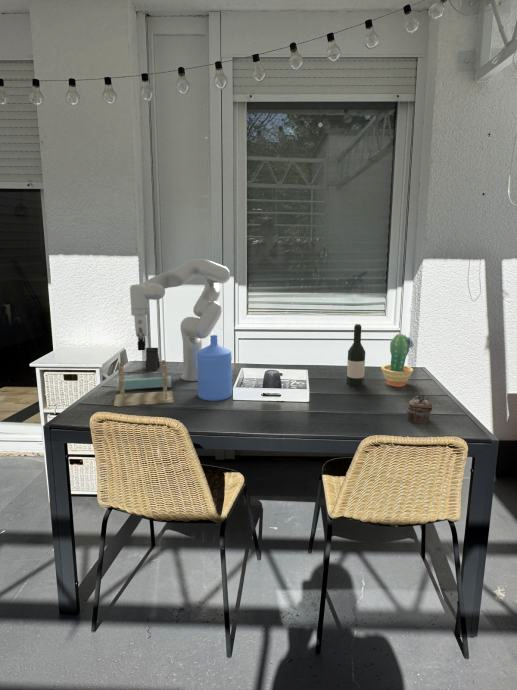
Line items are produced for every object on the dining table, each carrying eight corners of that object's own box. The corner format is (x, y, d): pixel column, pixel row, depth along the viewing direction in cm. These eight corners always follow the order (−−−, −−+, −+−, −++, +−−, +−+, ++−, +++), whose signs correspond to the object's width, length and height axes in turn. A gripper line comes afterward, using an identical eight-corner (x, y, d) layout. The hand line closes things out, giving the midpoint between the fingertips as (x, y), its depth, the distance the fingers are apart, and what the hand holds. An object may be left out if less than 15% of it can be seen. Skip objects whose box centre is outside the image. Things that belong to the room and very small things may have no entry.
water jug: (227, 402, 215) (226, 340, 209) (193, 400, 218) (191, 338, 212) (235, 391, 230) (235, 333, 223) (203, 389, 233) (202, 331, 226)
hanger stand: (172, 393, 226) (170, 359, 223) (173, 402, 215) (172, 366, 211) (116, 397, 221) (113, 362, 217) (114, 406, 209) (111, 369, 206)
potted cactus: (405, 390, 231) (409, 338, 226) (375, 384, 241) (377, 334, 235) (417, 382, 243) (420, 333, 238) (387, 377, 253) (390, 330, 247)
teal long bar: (170, 386, 239) (170, 374, 238) (171, 388, 233) (170, 376, 232) (117, 389, 233) (116, 377, 232) (116, 392, 227) (116, 379, 227)
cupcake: (425, 415, 200) (427, 391, 198) (434, 424, 190) (436, 399, 188) (402, 415, 200) (403, 392, 197) (410, 424, 190) (412, 400, 188)
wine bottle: (362, 381, 245) (365, 322, 239) (364, 386, 237) (367, 326, 230) (346, 381, 246) (348, 322, 239) (347, 386, 238) (349, 325, 231)
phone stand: (156, 371, 264) (155, 349, 261) (145, 371, 264) (144, 349, 261) (160, 367, 273) (159, 346, 270) (149, 366, 273) (148, 345, 270)
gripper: (147, 314, 218) (149, 351, 221) (148, 308, 234) (150, 343, 238) (130, 314, 216) (132, 352, 220) (132, 309, 232) (134, 344, 236)
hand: (141, 347), depth 229 cm, fingers open, 9 cm apart
